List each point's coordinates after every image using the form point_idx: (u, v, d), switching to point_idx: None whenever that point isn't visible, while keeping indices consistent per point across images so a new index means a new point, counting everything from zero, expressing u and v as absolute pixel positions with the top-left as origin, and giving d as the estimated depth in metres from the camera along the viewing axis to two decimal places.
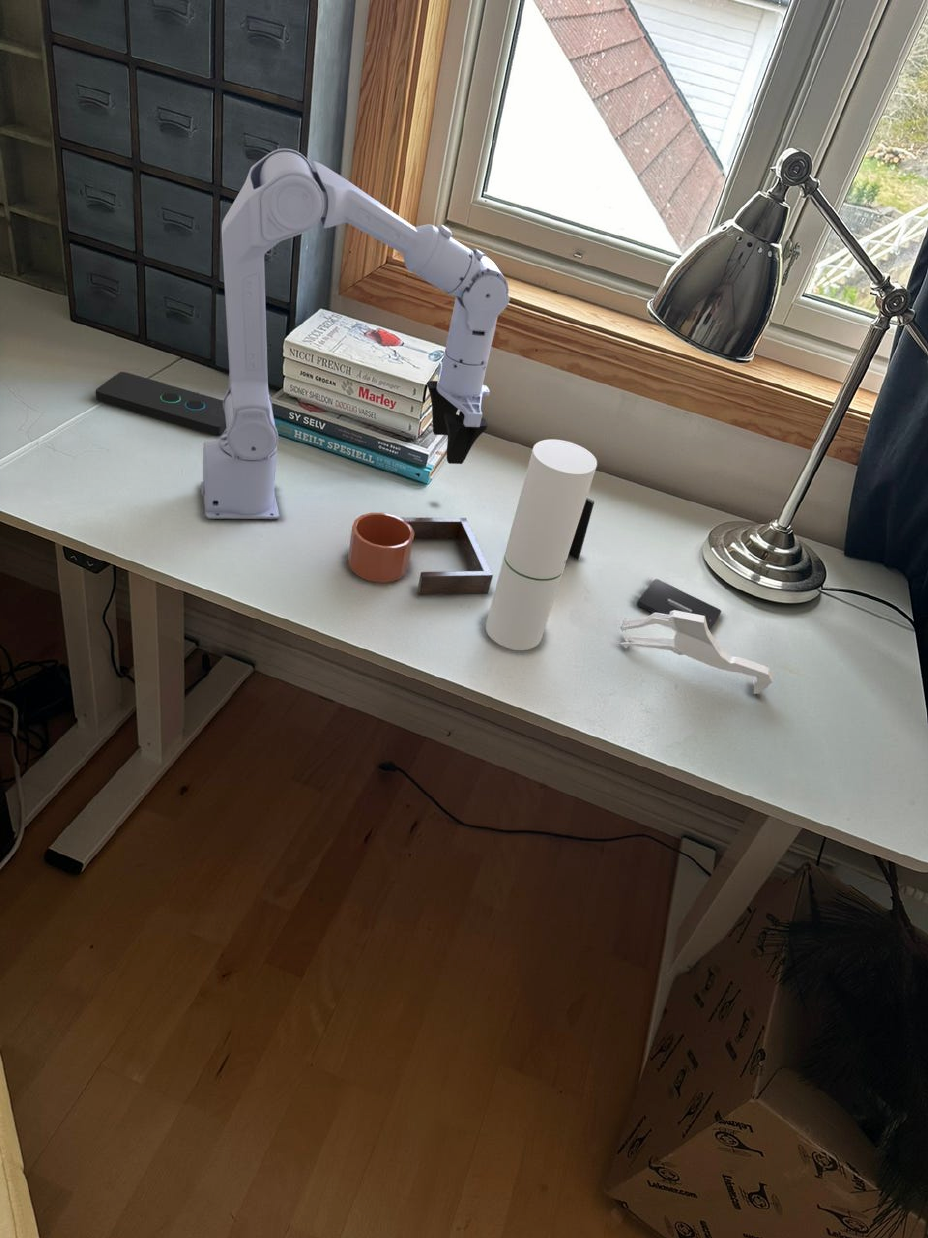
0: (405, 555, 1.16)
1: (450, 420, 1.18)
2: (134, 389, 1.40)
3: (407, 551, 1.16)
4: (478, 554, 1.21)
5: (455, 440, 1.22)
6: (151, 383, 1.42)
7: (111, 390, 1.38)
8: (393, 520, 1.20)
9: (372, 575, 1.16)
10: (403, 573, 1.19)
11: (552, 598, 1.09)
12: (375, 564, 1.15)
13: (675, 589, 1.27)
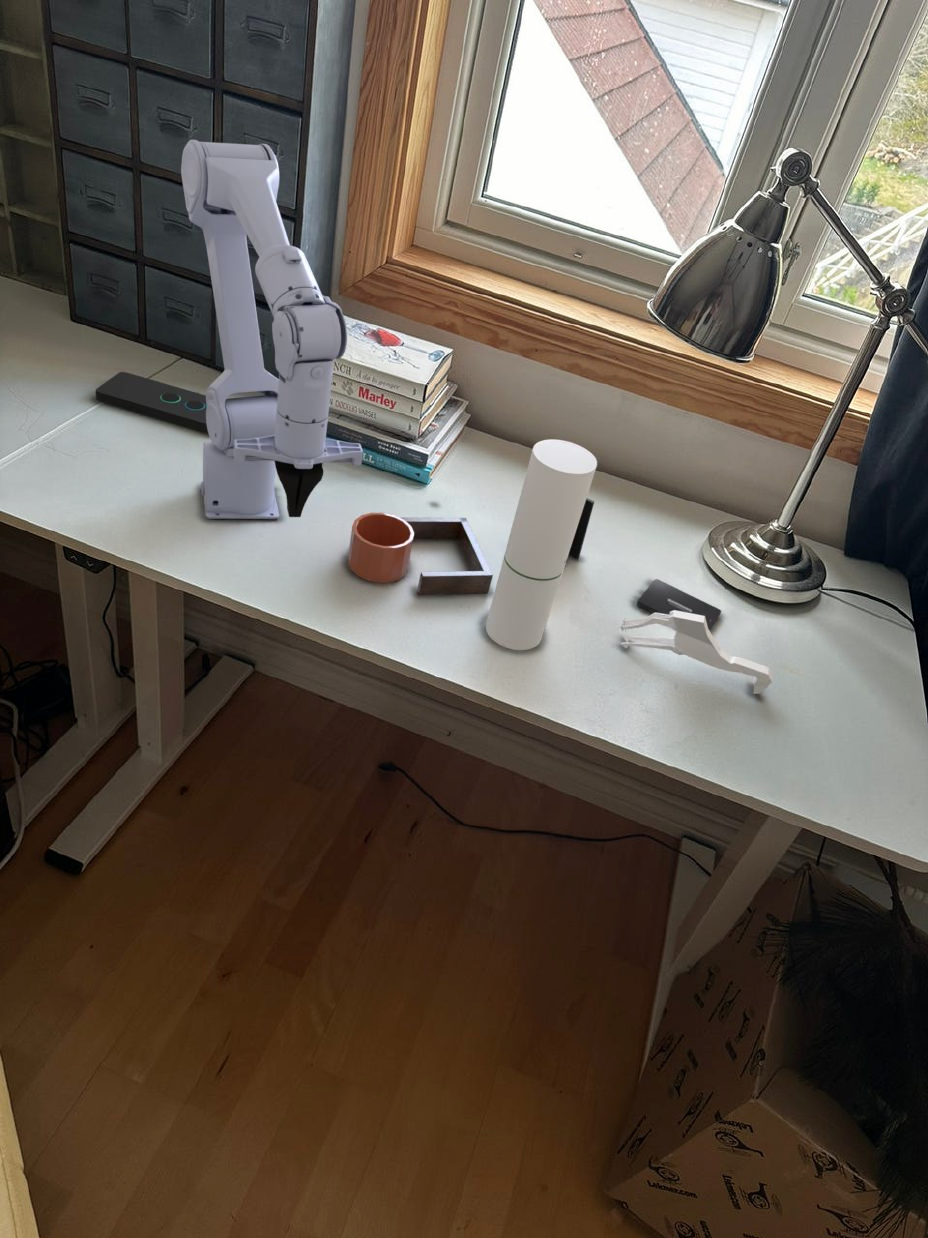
0: (405, 555, 1.16)
1: None
2: (134, 389, 1.40)
3: (407, 551, 1.16)
4: (478, 554, 1.21)
5: None
6: (151, 383, 1.42)
7: (111, 390, 1.38)
8: (393, 520, 1.20)
9: (372, 575, 1.16)
10: (403, 573, 1.19)
11: (552, 598, 1.09)
12: (375, 564, 1.15)
13: (675, 589, 1.27)
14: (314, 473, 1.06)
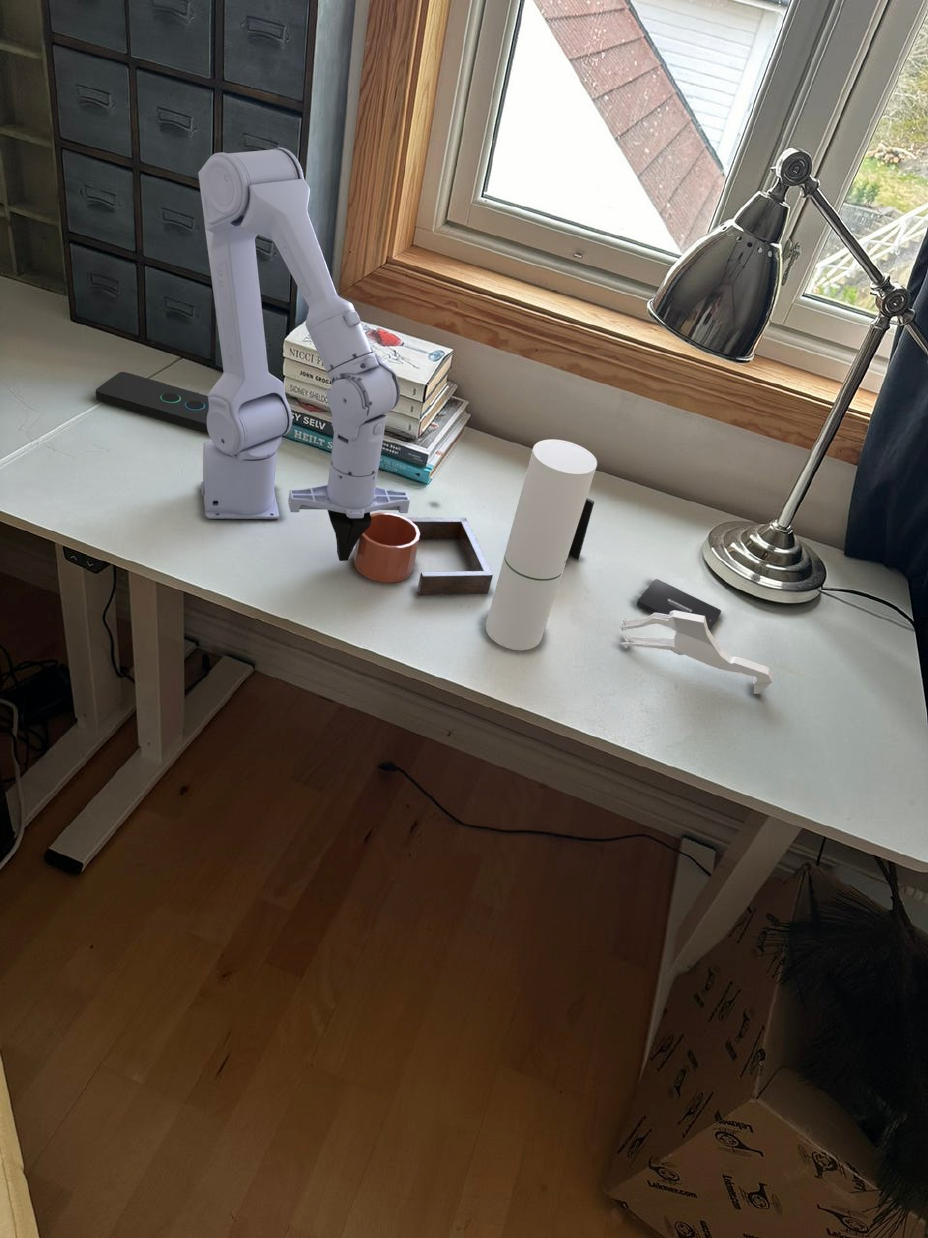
0: (411, 555, 1.17)
1: None
2: (134, 389, 1.40)
3: (413, 551, 1.17)
4: (478, 554, 1.21)
5: None
6: (151, 383, 1.42)
7: (111, 390, 1.38)
8: (399, 520, 1.20)
9: (378, 575, 1.17)
10: (409, 573, 1.19)
11: (552, 598, 1.09)
12: (381, 564, 1.16)
13: (675, 589, 1.27)
14: (363, 521, 1.12)
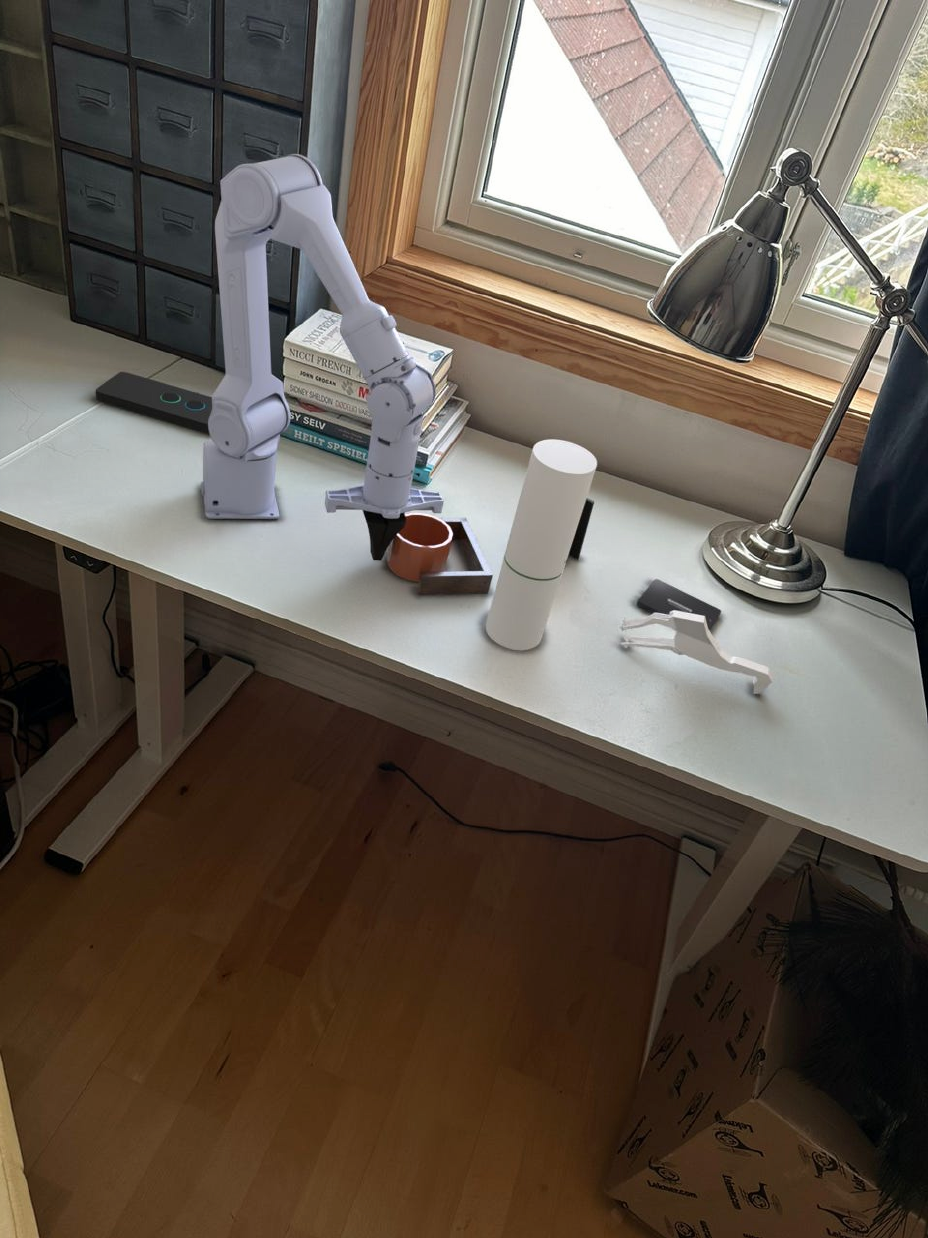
0: (444, 555, 1.18)
1: None
2: (134, 389, 1.40)
3: (446, 551, 1.18)
4: (478, 554, 1.21)
5: None
6: (151, 383, 1.42)
7: (111, 390, 1.38)
8: (431, 520, 1.21)
9: (412, 574, 1.18)
10: None
11: (552, 598, 1.09)
12: (415, 563, 1.17)
13: (675, 589, 1.27)
14: (398, 521, 1.13)
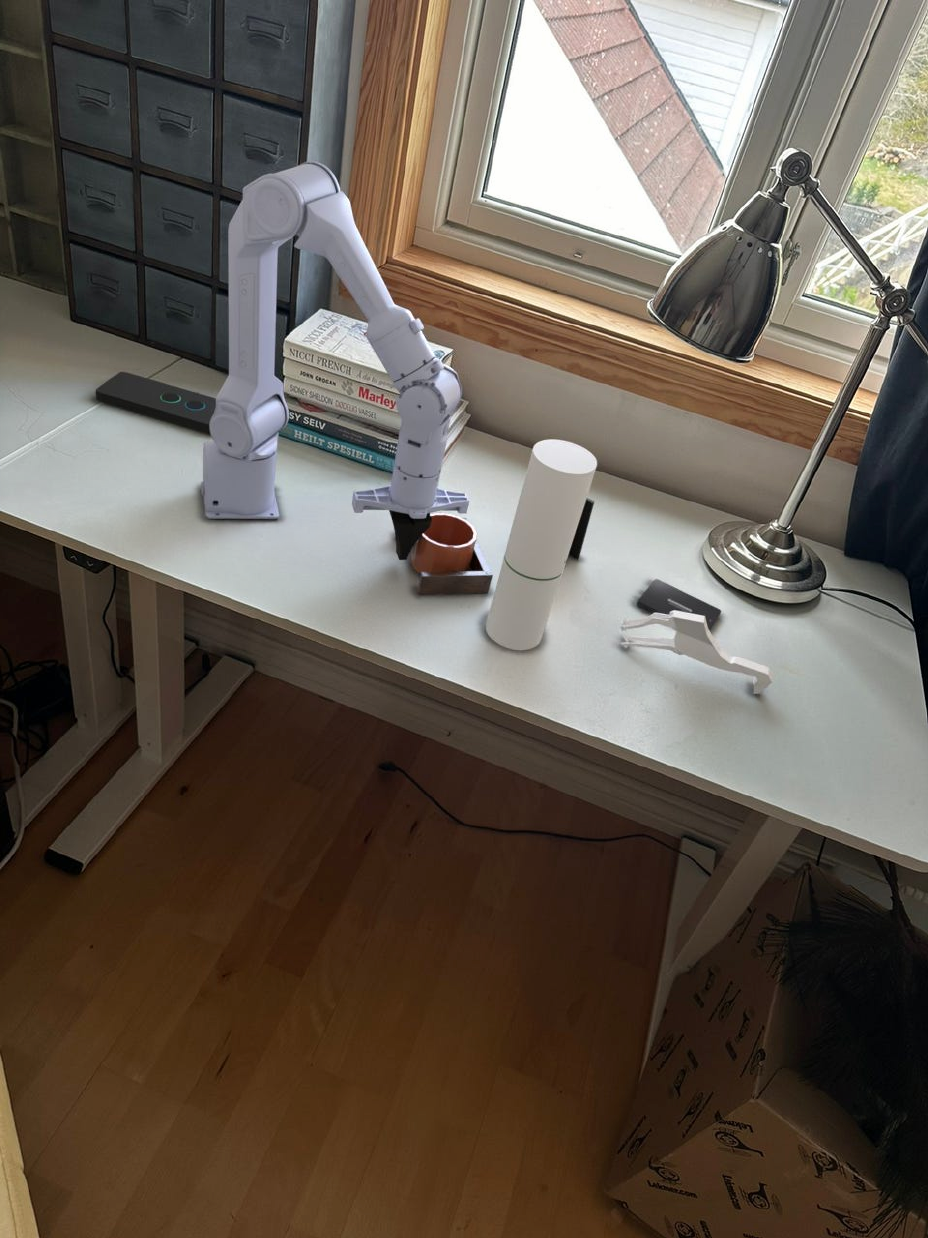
0: (468, 555, 1.19)
1: None
2: (134, 389, 1.40)
3: (470, 551, 1.19)
4: (478, 554, 1.21)
5: None
6: (151, 383, 1.42)
7: (111, 390, 1.38)
8: (455, 520, 1.23)
9: None
10: None
11: (552, 598, 1.09)
12: (440, 563, 1.18)
13: (675, 589, 1.27)
14: (424, 521, 1.14)
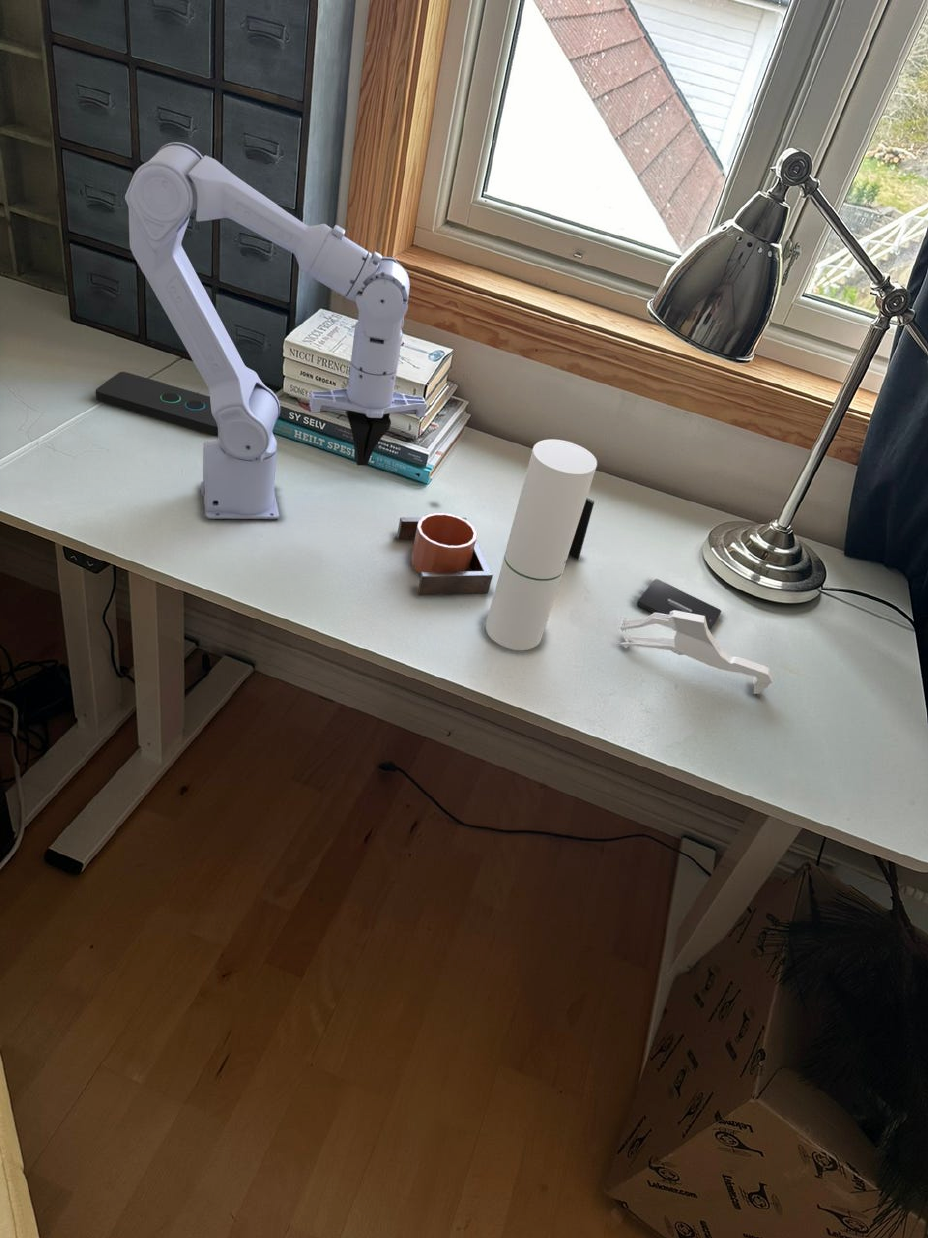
0: (468, 554, 1.19)
1: None
2: (134, 389, 1.40)
3: (470, 551, 1.19)
4: (478, 554, 1.21)
5: None
6: (151, 383, 1.42)
7: (111, 390, 1.38)
8: (455, 520, 1.23)
9: None
10: None
11: (552, 598, 1.09)
12: (440, 563, 1.18)
13: (675, 589, 1.27)
14: (382, 422, 1.15)
